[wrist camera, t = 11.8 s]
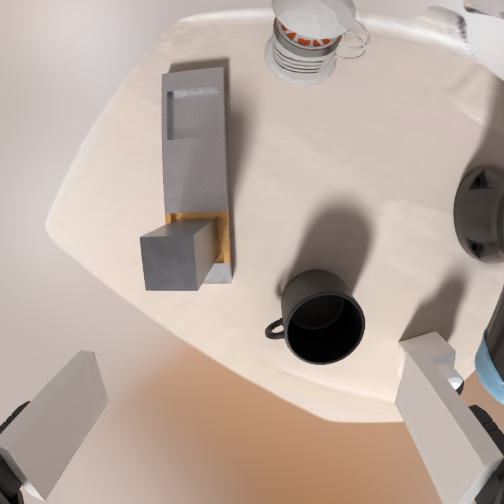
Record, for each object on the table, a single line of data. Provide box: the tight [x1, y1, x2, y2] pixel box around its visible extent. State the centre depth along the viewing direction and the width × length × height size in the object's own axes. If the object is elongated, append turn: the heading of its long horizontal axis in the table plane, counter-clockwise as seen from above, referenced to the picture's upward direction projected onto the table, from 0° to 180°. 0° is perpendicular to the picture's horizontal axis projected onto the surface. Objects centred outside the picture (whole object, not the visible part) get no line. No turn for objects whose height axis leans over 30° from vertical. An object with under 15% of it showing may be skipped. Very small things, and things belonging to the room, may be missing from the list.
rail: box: [162, 67, 232, 284], centre depth 39 cm, size 8×28×2 cm, turn 2°
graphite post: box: [140, 217, 220, 291], centre depth 34 cm, size 5×5×14 cm
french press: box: [264, 0, 370, 87], centre depth 24 cm, size 10×12×25 cm
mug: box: [265, 270, 365, 365], centre depth 39 cm, size 9×12×9 cm
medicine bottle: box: [398, 331, 464, 396], centre depth 39 cm, size 7×7×12 cm
